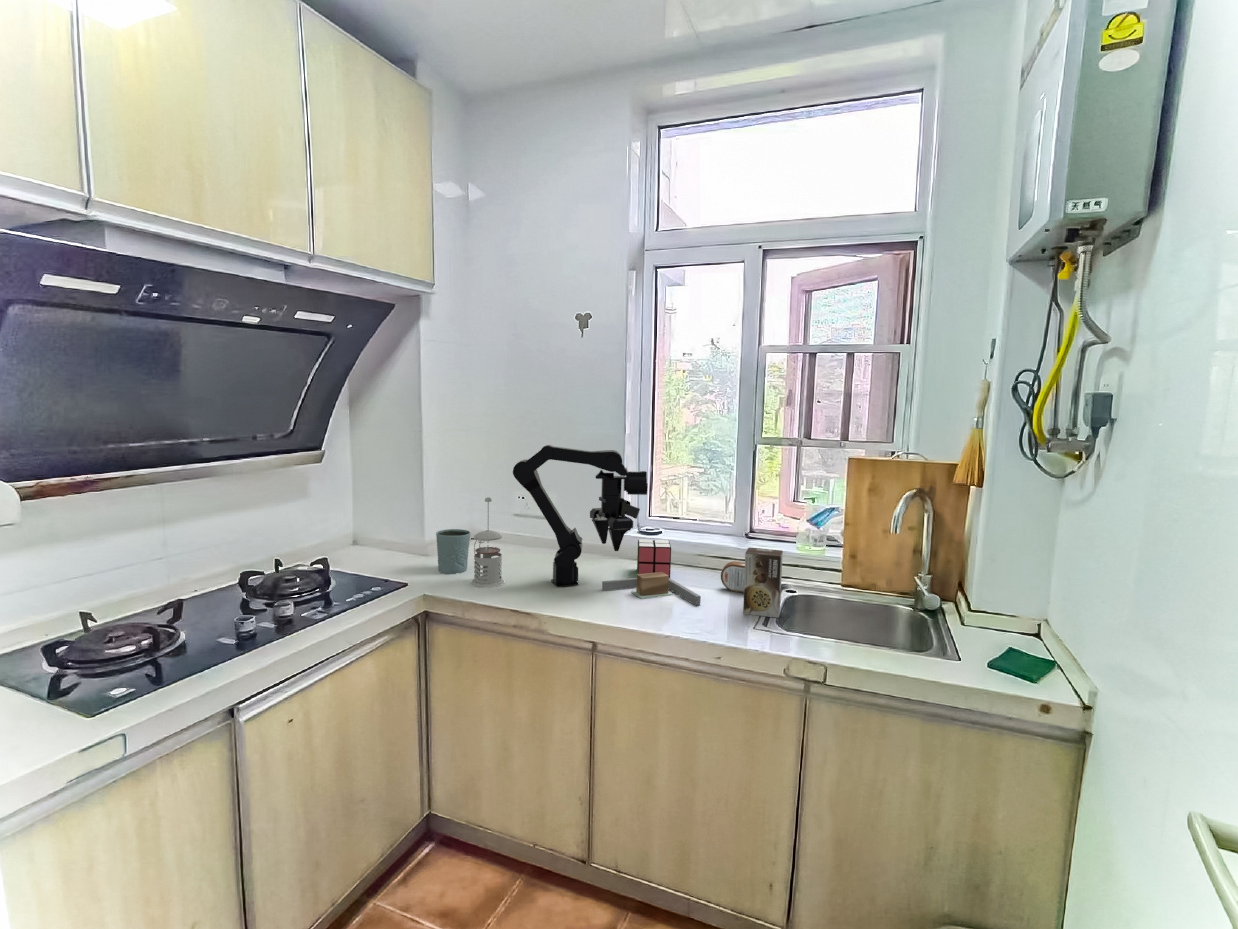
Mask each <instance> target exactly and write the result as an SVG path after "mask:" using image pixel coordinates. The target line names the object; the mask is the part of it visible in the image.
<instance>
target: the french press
mask: <svg viewBox="0 0 1238 929" xmlns="http://www.w3.org/2000/svg"><path fill="white" fill-rule="evenodd" d="M484 502H486V503H487V530H483V531H480V532H478V533H475V534H474V535H473V538H474V539H475V542H474V545H473V546H474V548H473V552H474V556H473V557H474V558H473V559H474V560H473V564H474V566H473V569H474V571H473V572H474V574H473V579H472V580H471V581H472V582H471V581H470V585H471V584H472V585H474V586H473V587H475V586H476V588H482V587H490V588H495V587H500V586H502V585H501V584H503V585H504V584H505V583H504V581H505V579H503V577H502V567H503V566H502V563H503V562H502V558H503V557H502V556H503V554H502V553H500V552H501V548H500V547H497V546H481V544H484V543H485V542H491V541H497V540H500V539H502V538H503V535H502V534H501V533H500V532H498V531H495V530H490V528H489V518H490V516H489V515H490V514H489V512H490V511H489V509H490V507H489V504H490V503H491V502H492V498H491V497H488V496H487V497H485V499H484ZM477 541H478V543H479V545H478V547H477V548H476V544H477ZM481 566H482V567H481ZM472 585H471V586H472Z"/></svg>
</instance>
